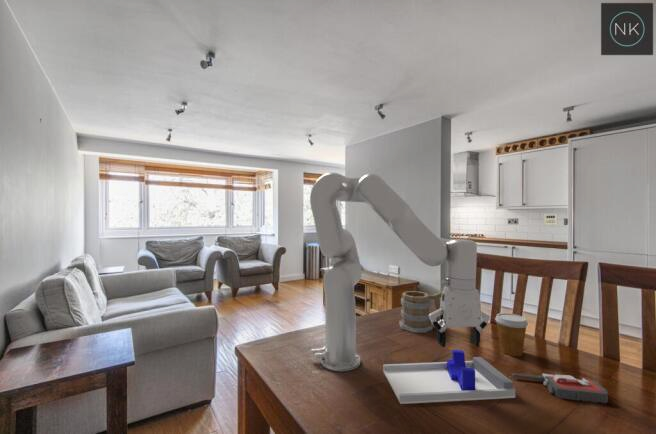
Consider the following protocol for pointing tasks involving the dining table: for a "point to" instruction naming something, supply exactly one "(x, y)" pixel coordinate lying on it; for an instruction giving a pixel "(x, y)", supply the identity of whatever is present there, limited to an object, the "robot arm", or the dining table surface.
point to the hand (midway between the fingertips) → (458, 344)
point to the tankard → (418, 311)
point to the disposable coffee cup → (511, 333)
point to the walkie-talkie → (571, 387)
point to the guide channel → (445, 382)
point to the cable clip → (461, 371)
